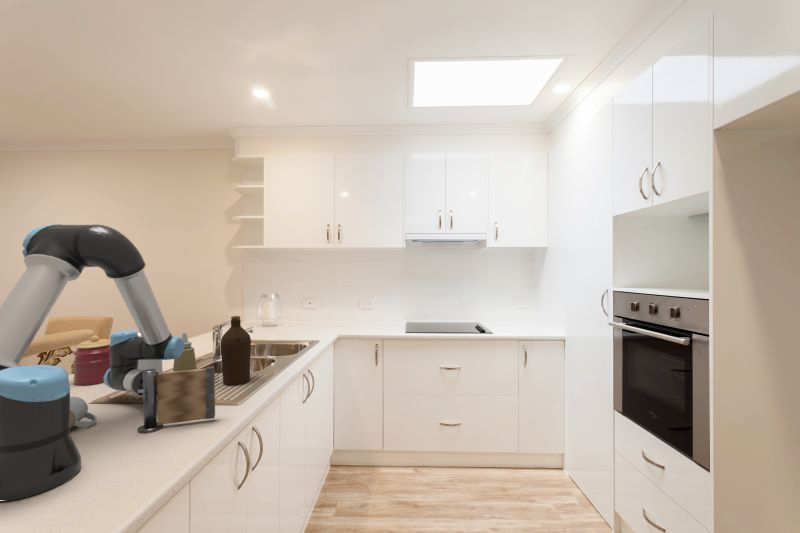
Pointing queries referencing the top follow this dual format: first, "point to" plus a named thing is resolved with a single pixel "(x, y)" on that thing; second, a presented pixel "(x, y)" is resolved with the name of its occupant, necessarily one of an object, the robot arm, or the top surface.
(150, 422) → the gate post
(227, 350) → the olive oil
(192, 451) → the top surface
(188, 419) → the gate
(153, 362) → the jar
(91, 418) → the ceramic mug
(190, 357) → the squeeze bottle
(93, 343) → the canister
